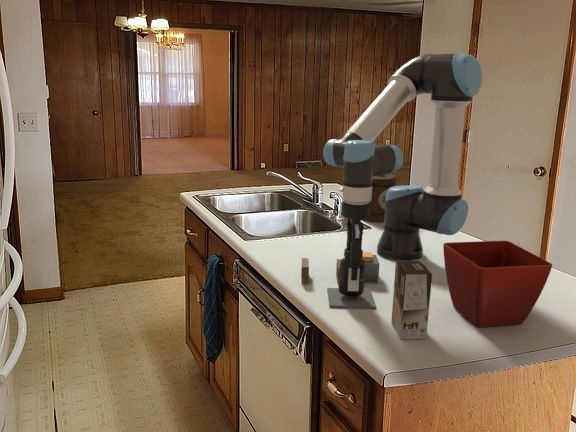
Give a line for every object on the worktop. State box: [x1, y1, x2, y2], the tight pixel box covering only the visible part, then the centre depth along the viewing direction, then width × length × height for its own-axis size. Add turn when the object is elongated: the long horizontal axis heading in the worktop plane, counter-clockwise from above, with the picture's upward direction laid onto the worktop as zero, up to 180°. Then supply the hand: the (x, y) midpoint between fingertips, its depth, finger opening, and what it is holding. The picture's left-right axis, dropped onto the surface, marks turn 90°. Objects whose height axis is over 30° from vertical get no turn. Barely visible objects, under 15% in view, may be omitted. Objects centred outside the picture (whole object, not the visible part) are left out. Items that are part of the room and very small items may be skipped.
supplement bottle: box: [337, 247, 366, 297], centre depth 148 cm, size 7×7×12 cm
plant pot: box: [442, 240, 553, 328], centre depth 139 cm, size 19×19×17 cm
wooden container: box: [361, 173, 397, 223], centre depth 231 cm, size 15×15×22 cm
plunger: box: [362, 251, 373, 262], centre depth 164 cm, size 4×4×6 cm
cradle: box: [300, 257, 342, 286], centre depth 163 cm, size 12×8×5 cm, turn 89°
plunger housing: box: [364, 254, 380, 284], centre depth 164 cm, size 8×8×6 cm
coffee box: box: [391, 260, 433, 340], centre depth 130 cm, size 9×6×16 cm
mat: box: [326, 287, 377, 310], centre depth 150 cm, size 12×12×1 cm
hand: (351, 285), depth 149 cm, fingers closed on supplement bottle, 7 cm apart
